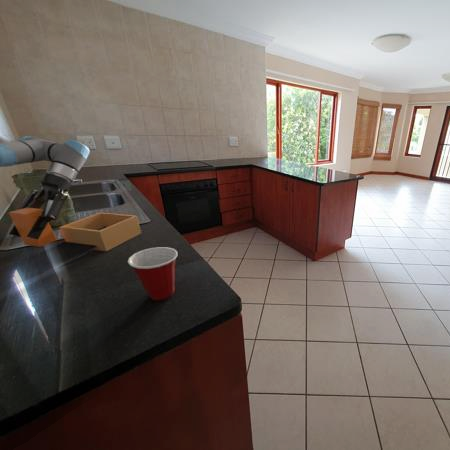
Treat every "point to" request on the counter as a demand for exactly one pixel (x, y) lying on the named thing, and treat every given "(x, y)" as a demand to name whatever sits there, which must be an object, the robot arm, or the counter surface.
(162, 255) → the plastic cup
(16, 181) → the pouch
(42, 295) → the counter surface
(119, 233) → the open box
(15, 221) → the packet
